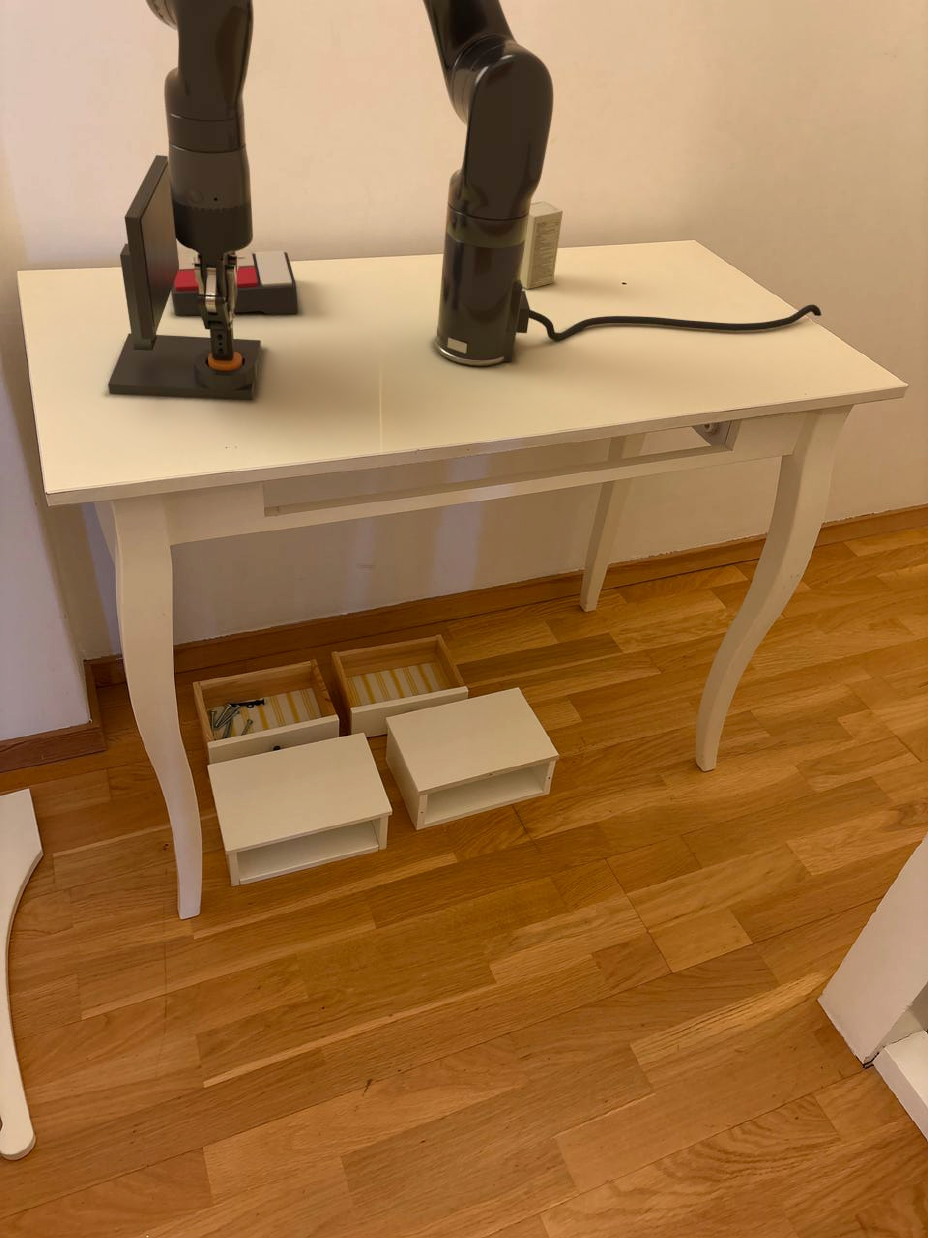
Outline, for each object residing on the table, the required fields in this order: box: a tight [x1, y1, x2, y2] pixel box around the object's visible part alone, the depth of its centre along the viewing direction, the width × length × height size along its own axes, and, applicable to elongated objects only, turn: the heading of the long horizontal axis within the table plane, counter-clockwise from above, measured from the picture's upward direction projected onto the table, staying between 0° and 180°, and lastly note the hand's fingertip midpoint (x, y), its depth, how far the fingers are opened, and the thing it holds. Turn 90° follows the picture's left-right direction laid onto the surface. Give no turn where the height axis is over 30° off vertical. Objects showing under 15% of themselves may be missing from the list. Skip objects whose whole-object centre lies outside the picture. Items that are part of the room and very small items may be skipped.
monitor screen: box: [124, 154, 179, 340], centre depth 98 cm, size 2×18×12 cm, turn 4°
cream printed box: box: [520, 200, 563, 290], centre depth 132 cm, size 5×4×10 cm
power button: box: [208, 351, 243, 371], centre depth 104 cm, size 4×4×2 cm
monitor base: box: [107, 332, 262, 401], centre depth 106 cm, size 15×12×3 cm
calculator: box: [170, 250, 299, 317], centre depth 121 cm, size 11×4×15 cm
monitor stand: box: [119, 243, 158, 350], centre depth 101 cm, size 2×3×10 cm, turn 5°
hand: (223, 356), depth 103 cm, fingers closed
